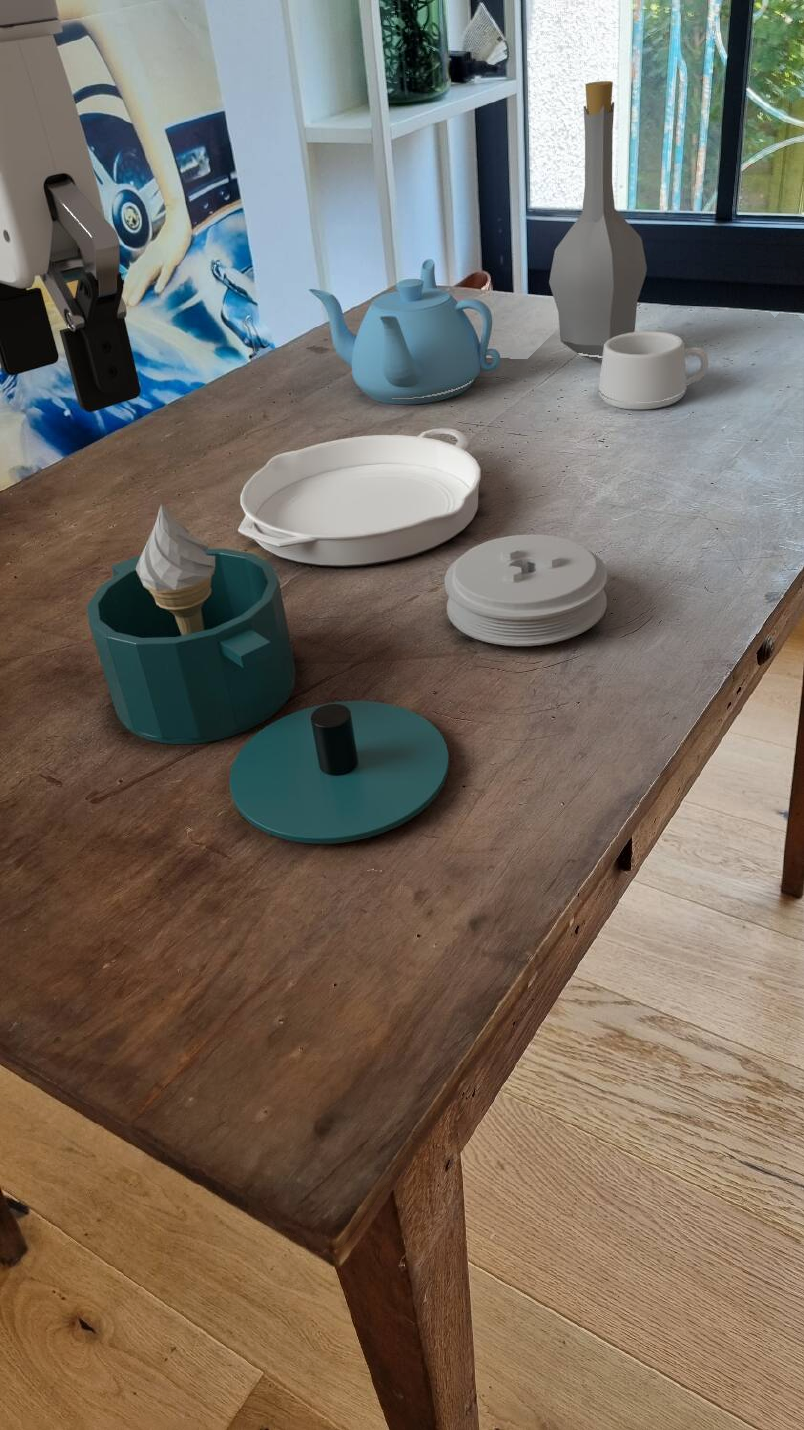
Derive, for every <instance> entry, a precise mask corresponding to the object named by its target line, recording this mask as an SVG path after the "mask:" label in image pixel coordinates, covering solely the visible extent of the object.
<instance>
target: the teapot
mask: <svg viewBox="0 0 804 1430" xmlns="http://www.w3.org/2000/svg"><path fill="white" fill-rule="evenodd" d="M435 265H436V264H435V261H434V260H433V259H432V258H428V259H426V260H424V261H423V263H422V265H421V268H420V278H407V279H403V280H400V281H398V282H397V283H396V284H395V287H396V289H397V290H395V291H391V292H388V293H385V294H382V295H379V296H378V297H376V298H375V299H374V300H372V302H371V304H370V306H369V307H368V308H367V311H366V313H365V315H364V317H363V319H362V322H361V324H360V327H359V329H358V332H357V334H354V333H353V332H352V331H351V329H349V328H348V326H347V324H346V321H345V317H344V312H343V309H342V305H341V303H340V302H339V300H338V298H337V297H336V296H335V295H334V294H332V293H330V292H328V291H325V290H321V289H316V288H310V289H308V291H309V292H310V293H311V294H312V295H314V296H315V297H316V298H317V299H318V300H320V302H321V303H322V304H323V307H324V308H325V311H326V313H327V316H328V320H329V327H330V334H331V339H332V343H333V347H334V350H335V351H336V353H337V355H338V357H339V358H340V359H341V360H342V361H343V362H344V363H346V364H347V365H348V366H350V367H351V376H352V379H353V381H354V383H355V384H356V385H357V386H358V387H359V389H360V390H362V392H363V393H365V394H366V395H367V396H368V397H369V398H371V399H372V400H375V401H376V402H380V403H385V404H390V405H421V404H429V403H434V402H440V401H443V400H448V399H450V398H453V397H456V396H459V395H460V394H463V392H465V391H467V390H468V389H469V388H470V387H471V385H472V384H473V383H474V381H475V380H476V379H477V378H478V376H479V374H480V372H481V371H483V372H485V373H486V372H487V373H489V372H493V371H495V370H496V369H498V368H499V367H500V365H501V357H502V356H501V355H500V352H499V351H498V350H497V349H495V348H488V347H489V344H490V340H491V335H492V330H493V329H492V328H493V315H492V312H491V310H490V308H489V306H488V305H486V303H484V302H483V301H481V300H478V299H477V298H465V299H462V300H460V301H457V299H455V297H454V296H453V295H452V294H451V293H449V292H448V291H446V290H445V289H444V290H443V289H441V288H440V289H439V288H438V287H437V282H436V274H435ZM468 309H471V310H475V311H476V312H478V313H479V314H480V315H481V317H482V333H481V337H480V340H479V336H478V333H477V331H476V329H475V326H474V325H473V323H472V322H471V320H470V318H469V316H468V315H467V314H466V312H465V311H464V310H468ZM487 356H491V358H492V360H493V361H491V362H489V361H488V359H487ZM475 378H476V379H475ZM473 379H475V380H474V381H473V382H471V383H470V384H468V385H467V386H465V387H463V388H460V389H458V390H455V391H453V392H449V393H446V394H441V395H437V396H431V397H424V398H414V399H392V398H413V397H422V396H427V395H432V394H437V393H441V392H445V391H448V390H451V389H456V388H458V387H461V386H463V385H465V384H467V383H469V382H470V381H472V380H473Z"/></svg>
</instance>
